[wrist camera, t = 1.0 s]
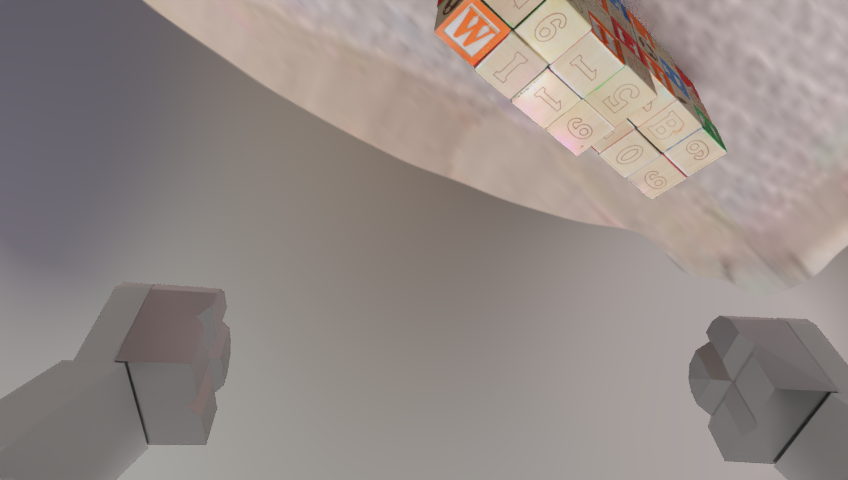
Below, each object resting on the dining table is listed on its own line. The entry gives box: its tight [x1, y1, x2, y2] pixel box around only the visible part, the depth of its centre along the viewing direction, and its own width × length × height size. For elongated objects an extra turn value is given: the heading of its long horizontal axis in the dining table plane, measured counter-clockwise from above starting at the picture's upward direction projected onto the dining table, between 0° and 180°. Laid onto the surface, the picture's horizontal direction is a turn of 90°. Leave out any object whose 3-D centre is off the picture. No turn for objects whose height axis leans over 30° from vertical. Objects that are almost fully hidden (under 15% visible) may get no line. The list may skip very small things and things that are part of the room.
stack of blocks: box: [434, 0, 727, 200], centre depth 40 cm, size 21×6×12 cm, turn 49°
